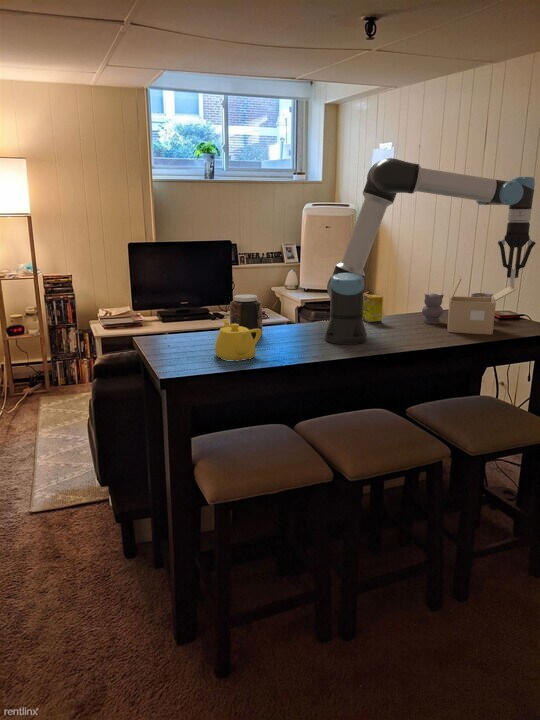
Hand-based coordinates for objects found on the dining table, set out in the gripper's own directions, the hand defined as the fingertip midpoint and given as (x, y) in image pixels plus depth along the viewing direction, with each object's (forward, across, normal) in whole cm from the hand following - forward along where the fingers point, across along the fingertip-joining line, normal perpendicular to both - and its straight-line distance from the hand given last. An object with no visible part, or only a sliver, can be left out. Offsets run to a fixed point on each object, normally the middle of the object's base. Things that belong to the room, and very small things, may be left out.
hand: (511, 286), depth 206 cm
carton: (+17, -13, 0) cm, 22 cm away
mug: (+18, -8, +23) cm, 30 cm away
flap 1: (+1, -20, 0) cm, 20 cm away
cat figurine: (+18, -27, +11) cm, 34 cm away
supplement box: (+18, -51, +6) cm, 55 cm away
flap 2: (+2, -3, 0) cm, 3 cm away
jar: (+18, -94, -31) cm, 101 cm away
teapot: (+18, -87, -59) cm, 107 cm away
